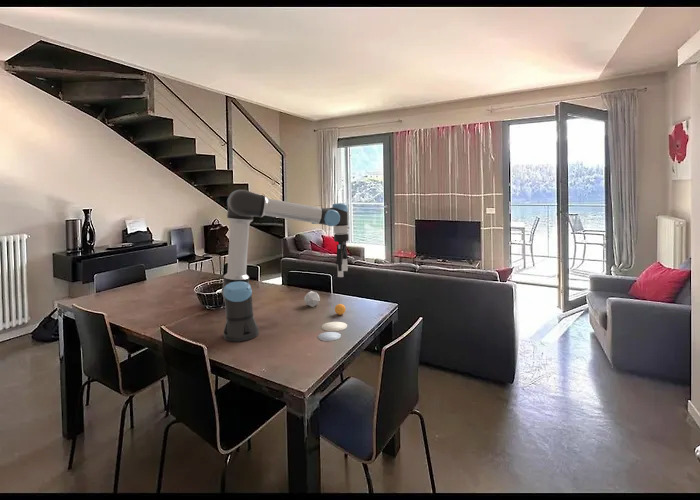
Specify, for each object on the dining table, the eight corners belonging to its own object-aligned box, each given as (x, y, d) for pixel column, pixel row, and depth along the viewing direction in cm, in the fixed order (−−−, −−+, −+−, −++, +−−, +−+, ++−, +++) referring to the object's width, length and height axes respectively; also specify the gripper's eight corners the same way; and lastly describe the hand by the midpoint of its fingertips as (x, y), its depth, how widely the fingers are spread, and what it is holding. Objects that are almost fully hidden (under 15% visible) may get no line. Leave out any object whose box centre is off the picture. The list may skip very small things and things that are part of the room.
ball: (334, 316, 193) (333, 305, 193) (335, 312, 199) (335, 302, 198) (344, 316, 193) (344, 305, 192) (346, 312, 198) (346, 302, 197)
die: (323, 307, 211) (321, 290, 215) (314, 303, 204) (313, 286, 209) (311, 310, 214) (309, 294, 219) (302, 307, 207) (300, 290, 212)
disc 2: (315, 340, 163) (315, 340, 163) (320, 331, 173) (320, 331, 173) (338, 341, 162) (338, 340, 162) (342, 332, 172) (342, 332, 172)
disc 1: (319, 331, 174) (319, 330, 174) (324, 321, 186) (324, 321, 186) (345, 331, 172) (345, 331, 172) (348, 322, 184) (348, 321, 184)
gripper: (344, 236, 184) (346, 279, 188) (352, 230, 209) (353, 268, 212) (328, 237, 186) (331, 279, 189) (338, 230, 210) (340, 268, 213)
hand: (342, 273), depth 201 cm, fingers open, 13 cm apart
